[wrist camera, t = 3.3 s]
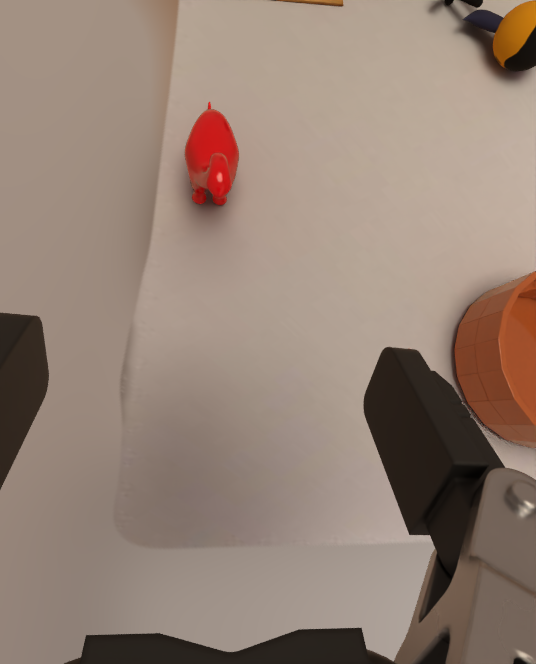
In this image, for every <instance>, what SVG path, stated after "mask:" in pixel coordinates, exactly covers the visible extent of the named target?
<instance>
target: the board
mask: <svg viewBox="0 0 536 664" xmlns="http://www.w3.org/2000/svg"><path fill="white" fill-rule="evenodd" d="M278 1H289V2H300V3H311V4H323V5H334V6H343V0H278Z"/></svg>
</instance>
